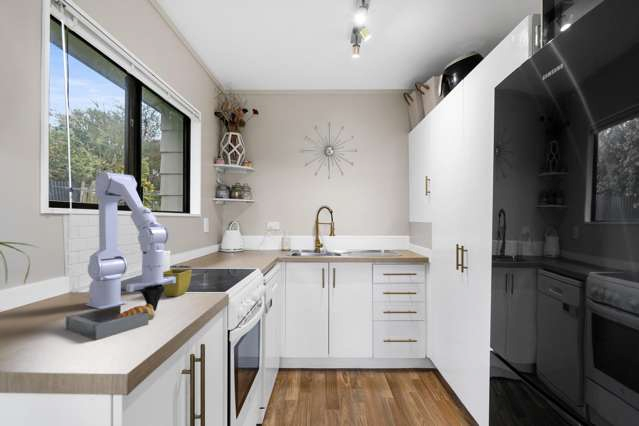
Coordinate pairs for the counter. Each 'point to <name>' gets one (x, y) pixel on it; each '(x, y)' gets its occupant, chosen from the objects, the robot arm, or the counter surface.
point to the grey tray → (92, 329)
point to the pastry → (138, 311)
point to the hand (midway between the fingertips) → (152, 310)
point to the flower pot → (177, 282)
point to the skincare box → (166, 261)
